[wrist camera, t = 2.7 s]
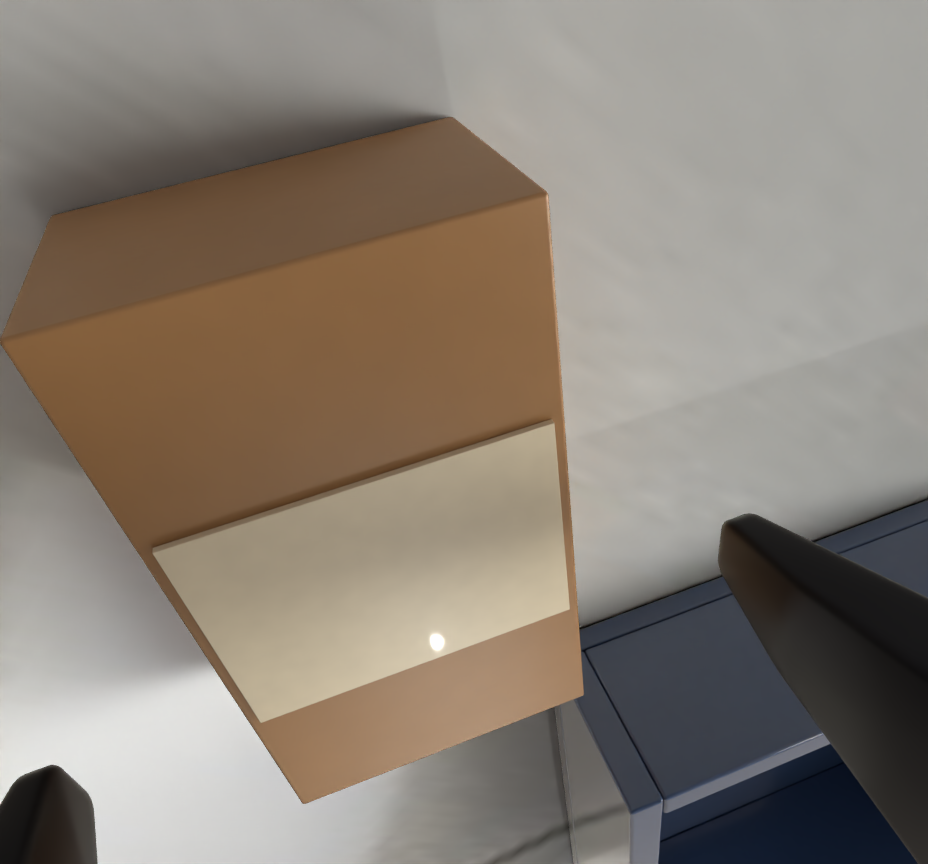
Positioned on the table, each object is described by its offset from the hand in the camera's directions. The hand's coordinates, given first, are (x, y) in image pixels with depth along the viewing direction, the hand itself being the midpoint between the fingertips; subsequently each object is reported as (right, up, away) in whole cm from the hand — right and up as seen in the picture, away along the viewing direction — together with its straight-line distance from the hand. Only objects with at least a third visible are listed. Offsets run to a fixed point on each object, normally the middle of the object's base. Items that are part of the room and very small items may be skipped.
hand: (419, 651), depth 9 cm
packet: (-1, +3, +4) cm, 5 cm away
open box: (+10, -7, +15) cm, 19 cm away
